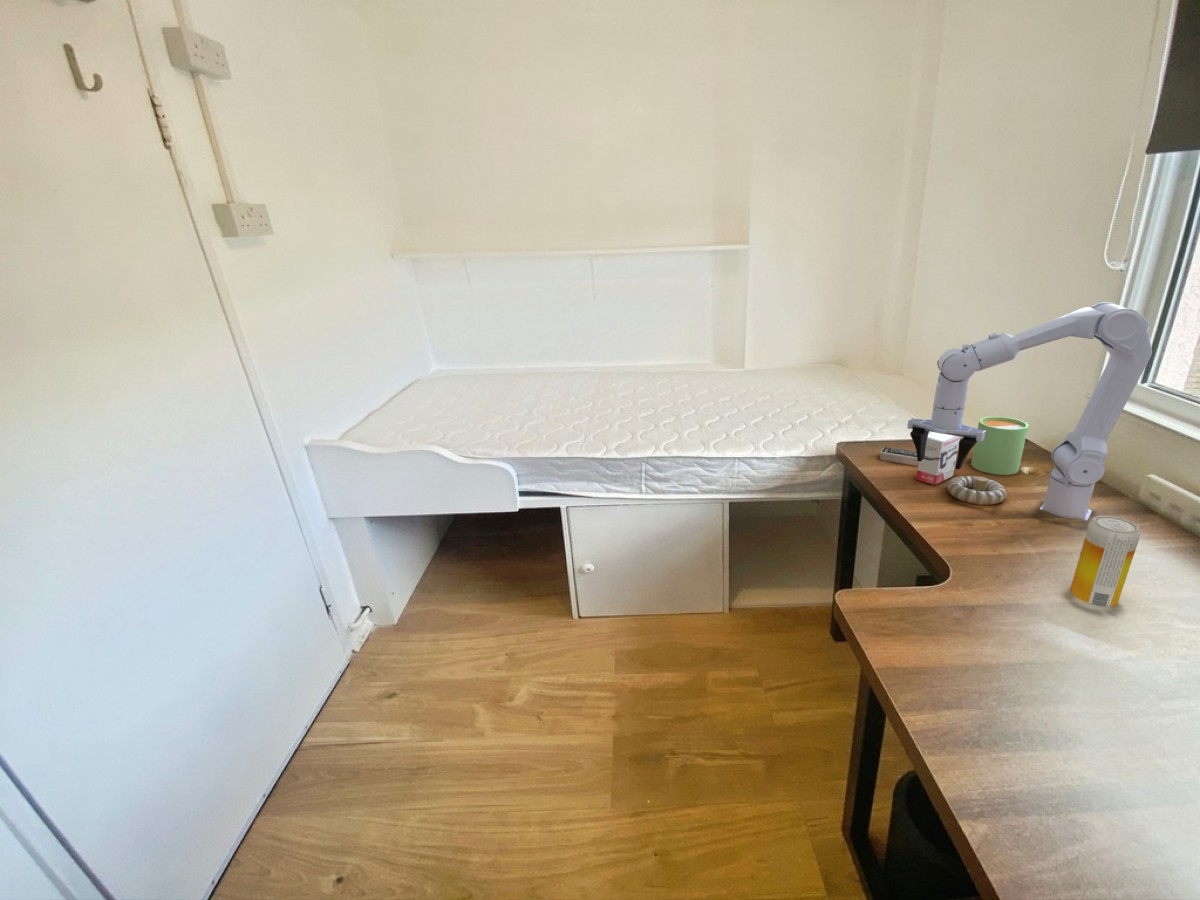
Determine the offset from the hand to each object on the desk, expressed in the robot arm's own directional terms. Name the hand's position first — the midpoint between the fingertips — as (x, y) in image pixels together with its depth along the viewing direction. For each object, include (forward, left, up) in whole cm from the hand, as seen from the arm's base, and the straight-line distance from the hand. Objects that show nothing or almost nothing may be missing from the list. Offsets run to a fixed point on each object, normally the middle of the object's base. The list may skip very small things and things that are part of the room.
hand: (939, 464), depth 123 cm
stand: (-7, +7, -10) cm, 14 cm away
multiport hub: (-21, -14, -10) cm, 27 cm away
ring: (-7, +6, -7) cm, 12 cm away
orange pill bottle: (+21, +31, -10) cm, 39 cm away
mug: (-31, +4, -10) cm, 33 cm away
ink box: (-14, -4, -10) cm, 18 cm away
